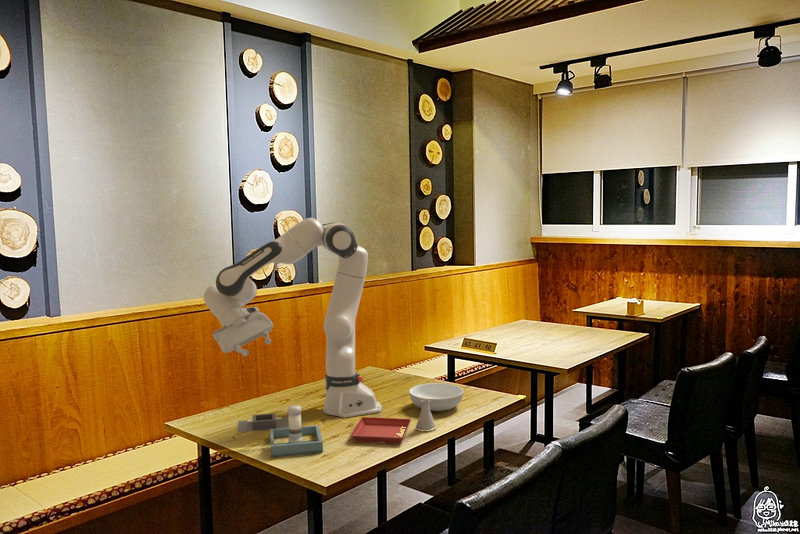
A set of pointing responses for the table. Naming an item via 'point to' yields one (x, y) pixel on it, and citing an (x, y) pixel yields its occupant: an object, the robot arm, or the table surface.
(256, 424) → the board
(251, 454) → the table surface
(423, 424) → the flask
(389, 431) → the plant saucer
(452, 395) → the serving bowl
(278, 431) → the tray
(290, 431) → the cylinder
